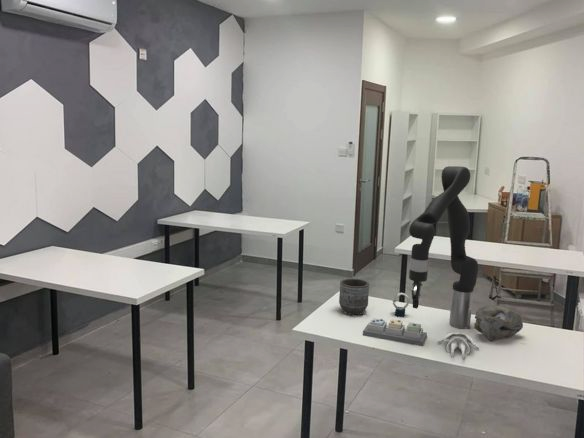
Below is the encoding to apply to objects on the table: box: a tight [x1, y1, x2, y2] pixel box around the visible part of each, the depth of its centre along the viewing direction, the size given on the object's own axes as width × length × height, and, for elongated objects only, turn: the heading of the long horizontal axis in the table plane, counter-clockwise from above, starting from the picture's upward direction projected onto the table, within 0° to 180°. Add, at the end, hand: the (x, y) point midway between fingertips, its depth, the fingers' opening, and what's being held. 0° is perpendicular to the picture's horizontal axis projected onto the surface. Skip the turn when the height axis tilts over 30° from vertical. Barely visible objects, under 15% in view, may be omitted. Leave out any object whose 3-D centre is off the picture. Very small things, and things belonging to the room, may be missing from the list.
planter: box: [338, 277, 370, 316], centre depth 254 cm, size 14×14×15 cm
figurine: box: [436, 331, 480, 360], centre depth 215 cm, size 17×9×25 cm
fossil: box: [473, 304, 524, 342], centre depth 229 cm, size 14×22×15 cm, turn 123°
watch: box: [392, 292, 410, 318], centre depth 252 cm, size 6×8×11 cm
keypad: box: [362, 318, 428, 347], centre depth 226 cm, size 26×11×4 cm, turn 68°
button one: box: [406, 322, 422, 333], centre depth 223 cm, size 5×5×4 cm
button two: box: [388, 318, 403, 330], centre depth 226 cm, size 5×5×4 cm
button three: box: [370, 317, 385, 326], centre depth 229 cm, size 5×5×4 cm
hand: (415, 307), depth 221 cm, fingers closed
